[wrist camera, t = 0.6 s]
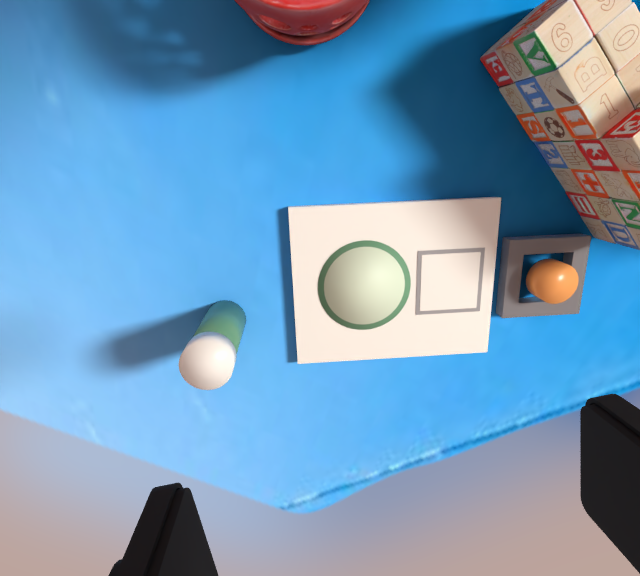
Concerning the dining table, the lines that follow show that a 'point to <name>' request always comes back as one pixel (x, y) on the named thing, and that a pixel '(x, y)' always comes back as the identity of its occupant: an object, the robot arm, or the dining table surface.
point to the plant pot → (304, 18)
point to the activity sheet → (393, 278)
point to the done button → (552, 280)
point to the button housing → (511, 273)
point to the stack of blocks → (580, 104)
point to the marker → (213, 347)
